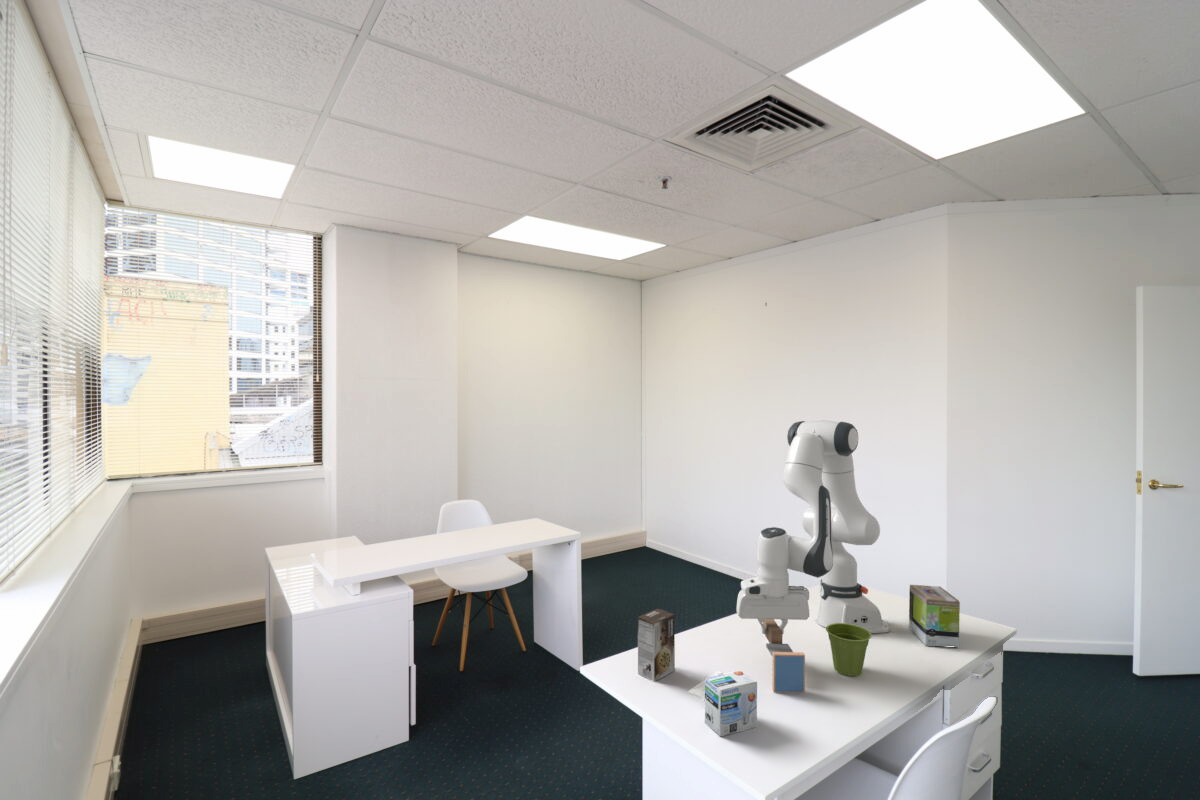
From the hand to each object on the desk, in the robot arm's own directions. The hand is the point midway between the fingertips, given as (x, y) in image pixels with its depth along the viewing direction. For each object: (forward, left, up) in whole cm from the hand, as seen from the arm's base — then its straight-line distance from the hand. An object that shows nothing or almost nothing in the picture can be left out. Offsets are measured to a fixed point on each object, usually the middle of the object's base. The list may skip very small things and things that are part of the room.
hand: (772, 633), depth 168 cm
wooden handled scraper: (0, +3, -2) cm, 4 cm away
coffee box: (+34, +7, -9) cm, 36 cm away
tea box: (-56, -20, -9) cm, 60 cm away
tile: (0, +16, -9) cm, 18 cm away
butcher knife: (+20, +13, -9) cm, 26 cm away
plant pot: (-20, +4, -9) cm, 22 cm away
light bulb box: (+18, +32, -9) cm, 37 cm away
